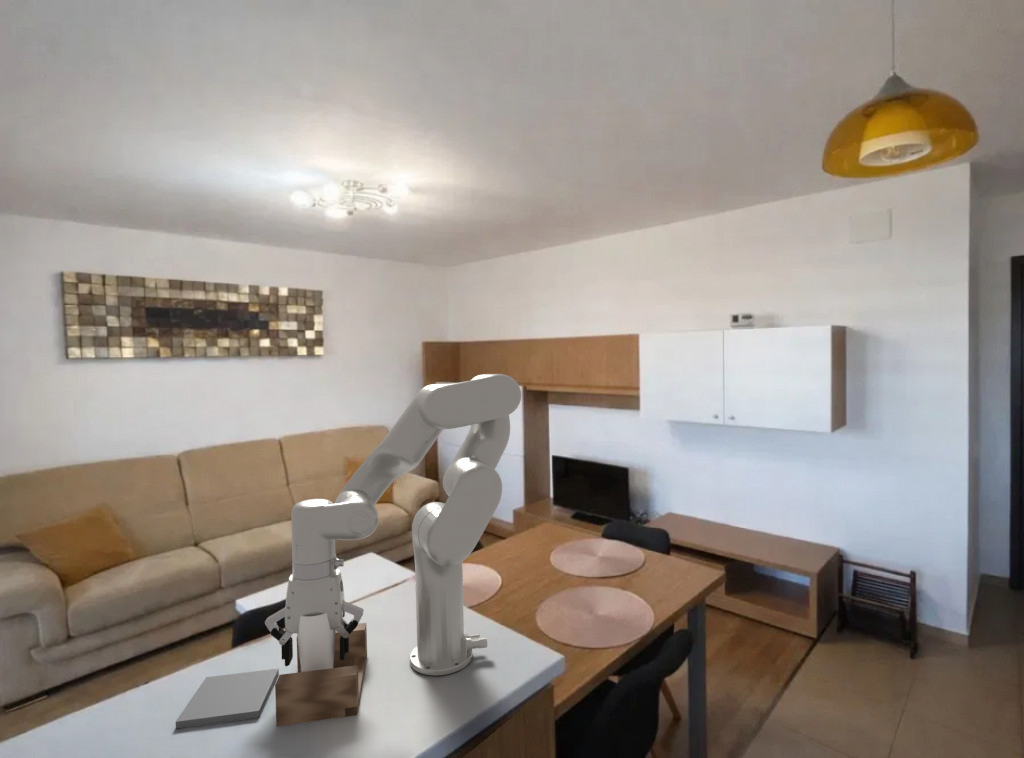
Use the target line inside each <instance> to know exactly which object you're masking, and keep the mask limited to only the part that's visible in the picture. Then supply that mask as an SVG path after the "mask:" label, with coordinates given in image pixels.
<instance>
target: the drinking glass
mask: <svg viewBox="0 0 1024 758" xmlns="http://www.w3.org/2000/svg"><path fill="white" fill-rule="evenodd" d="M335 631H336V630H335V629H333V630H331V629H330V627H329V622H328V617H327V613H324V614H321V615H317V616H300V623H299V633H296V640H297V639H298V647H299V655H300V663H301V671H302V672H306V671H314V670H322V669H330V668H333V666H334V648H335Z"/></svg>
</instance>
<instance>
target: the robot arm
mask: <svg viewBox="0 0 1024 758" xmlns="http://www.w3.org/2000/svg"><path fill="white" fill-rule="evenodd" d="M521 400H522V390H521V388H520V385H519V383H518V382H517V381H516V380H515V379H514V378H513V377H512V376H510V375H507V374H503V373H484V374H483V373H482V374H478V375H476V376H474V377H472V379H470V380H466V381H460V382H455V383H445V384H439V383H432V384H428V385H425V386H424V387H422V388H421V389H419V391H418V392H417V394H416V395H415V396H414V398H413V399H412V400H411V401H410V403H409V404H408V406H407V407H406V408H405V410H404V411H403V412H402V414H401V415H400V416H399V418H398V419H397V420H396V421H395V423H394V425H393V426H392V428H391V429H390V430H389V432H387V434H386V435H385V437H384V438H383V439H382V441H381V442H380V444H378V445H377V446H376V447H375V449H373V451H372V452H371V453H370V455H369V456H368V457H367V458H366V459H364V461H363V462H362V463H361V464H360V466H359V467H358V468H357V469H356V471H355V472H354V473H353V474H352V476H351V478H349V480H348V482H347V483H346V484H345V486H344V487H343V488H342V490H341V491H340V492H339V494H338V496H337V497H336V499H335V501H334V503H333V501H331V500H329V499H326V498H312V499H311V498H310V499H305V500H302V501H301V500H300V502H297V503H294V505H293V507H292V509H291V558H292V559H291V560H292V562H291V565H292V568H291V569H292V574H290V576H289V577H288V583H287V588H286V595H285V596H286V597H285V606H284V607H283V608H281V609H279V610H278V611H276V612H275V613H273V614H271V615H269V616H268V617H267V618H266V620H264V624H265V626H266V628H267V630H268V631H269V632H270V635H271V636H272V638H274V639H276V641H278V644H279V645H280V646H281V660H284V667H289V666H290V664H291V662H292V660H293V658H294V654H293V653H294V652H293V651H294V650H293V649H294V645H293V643H294V642H293V641H294V640H293V637H292V635H293V634H297V633H299V623H300V616H317V615H321V614H324V613H327V617H328V622H329V627H330V629H331V630H333V629H335V630H336V631H337V632H338V633H339V634H340V635H341V637H340V659H341V660H344V658H345V654H346V653H348V652H349V635H350V634H351V633H352V631H353V630H354V629H355V628H356V627H357V625H358V624H359V623H360V622H361V619H362V617H363V616H364V615H363V614H364V608H363V607H359V606H357V605H355V604H352V603H350V602H347V601H345V592H344V583H343V577H342V572H341V570H340V569H339V568H340V567H341V568H342V567H344V565H345V563H344V562H345V561H344V558H342V559H341V558H338V557H337V553H336V540H338V541H339V540H340V541H358V540H363V539H365V538H368V537H369V536H371V535H372V534H373V533H374V532H375V531H376V529H377V527H378V525H379V522H380V521H379V520H380V517H379V512H378V510H377V508H376V505H377V503H378V501H379V500H380V499H381V497H383V495H384V493H385V492H386V490H388V488H389V487H390V486H391V485H392V484H393V483H394V482H395V481H396V480H397V479H398V478H401V476H403V475H405V474H407V473H409V472H411V471H413V470H414V469H416V468H417V467H418V466H419V465H420V464H421V462H422V460H423V459H424V457H426V455H427V454H428V453H429V450H430V449H431V448H432V447H433V445H434V443H435V442H436V441H437V439H438V438H439V436H440V434H442V432H443V431H444V430H453V429H457V428H463V427H468V426H470V427H469V430H468V433H467V435H466V436H465V439H464V441H463V442H462V444H461V445H460V448H459V449H458V451H457V453H456V454H455V456H454V458H452V461H451V462H450V464H449V465H448V467H447V469H446V470H445V472H444V475H443V478H442V487H443V490H444V492H445V494H446V495H447V496H448V497H447V500H446V501H445V502H440V501H432V502H429V503H426V504H425V505H423V506H422V507H420V508H419V510H418V511H417V512H416V513H415V515H414V518H413V520H412V523H411V538H412V539H411V540H412V548H413V556H414V572H415V574H414V575H415V576H414V577H415V609H416V613H415V615H416V619H415V621H416V646H415V647H414V648H413V649H412V651H411V652H410V654H409V664H410V667H411V668H412V669H413V670H414V671H416V672H418V673H420V674H422V675H426V676H437V677H438V676H446V675H450V674H453V673H456V672H458V671H461V670H462V669H464V668H466V666H468V665H469V663H471V661H472V659H473V649H474V650H475V649H486V648H488V638H487V636H486V637H481V636H480V633H479V632H478V633H472V634H469V633H466V629H465V625H464V623H465V620H464V619H465V618H464V614H465V613H464V579H463V578H464V574H463V573H464V572H463V561H465V560H466V559H467V558H468V557H469V556H470V555H471V554H472V552H473V551H474V549H475V548H476V546H477V544H478V542H479V541H480V539H481V537H482V536H483V534H484V532H485V530H486V529H487V526H488V524H489V523H490V521H491V519H492V518H493V516H494V514H495V512H496V510H497V509H498V506H499V504H500V501H501V499H502V495H503V483H502V479H501V478H502V477H501V476H500V474H499V473H498V471H497V470H496V468H497V466H498V464H499V462H500V461H501V458H502V456H503V454H504V452H505V450H506V448H507V445H508V444H509V443H508V442H509V440H510V435H511V419H510V415H511V414H513V413H514V412H515V411H516V410H517V409H518V408H519V405H520V403H521ZM346 613H347V614H349V615H352V616H353V618H352V619H351V620H350V621H349V623H348V622H347V621H346V620H345V619H344V618H345V616H346ZM283 618H284V628H285V630H284V629H283V628H282V627H281V626H280V625H278V623H277V622H278V621H280V620H282V619H283Z"/></svg>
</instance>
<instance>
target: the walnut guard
mask: <svg viewBox="0 0 1024 758" xmlns="http://www.w3.org/2000/svg"><path fill="white" fill-rule="evenodd" d="M367 631H368V630H367V622H361V623H360V622H359V623H358V625H357V627H356V628H355V629H354V630H353V631H352V633H351V634H350V635H349V652H348V653H346V654H345V658H344V660H341V659H340V637H341V635H340V634H339V633H338V632H337V631H335V648H334V666H333V668H330V669H322V670H314V671H306V672H302V671H301V663H300V655H299V647H298V639H297V638H296V659H297V660H296V661H297V665H296V666H297V672H290V673H282V674H279V675H278V677H277V680H276V682H275V684H274V686H275V689H274V690H275V691H274V692H275V694H274V695H275V718H276V719H275V721H276V722H275V723H276V725H275V726H276V727H281V726H288V725H289V726H290V725H296V724H303V723H312V722H317V721H327V720H332V719H338V718H339V719H340V718H346V717H354V716H358V713H359V707H360V700H361V696H362V689H363V683H364V677H365V672H366V666H367V661H366V660H367V659H368V640H367V639H368V638H367V637H368V636H367V635H368V634H367Z"/></svg>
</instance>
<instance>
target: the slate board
mask: <svg viewBox="0 0 1024 758" xmlns="http://www.w3.org/2000/svg"><path fill="white" fill-rule="evenodd" d="M279 675H280V672H279V668H272V669H263V670H255V671H247V672H238V673H231V674H230V673H229V674H222V675H214V676H206V677H205V678H204V680H203V681H202V683H200V686H199V687H198V689H196V691H195V693H194V694H193V696H192V697H191V699H190V700H189V702H188V703H187V704H186V706H185V707H184V708H183V710H182V712H181V713H180V714H179V716H178V717H177V718H176V720H175V729H176V728H179V729H184V728H183V727H186V728H191V726H193V727H198V725H201V726H206V725H213V724H214V725H215V724H221V723H222V724H223V723H229V722H236V721H237V722H238V721H244V720H251V719H259V718H260V717H261V715H262V713H263V710H264V708H265V706H266V704H267V702H268V700H269V698H270V695H271V693H272V690H273V688H274V686H275V684H276V682H277V680H278V677H279Z"/></svg>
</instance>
